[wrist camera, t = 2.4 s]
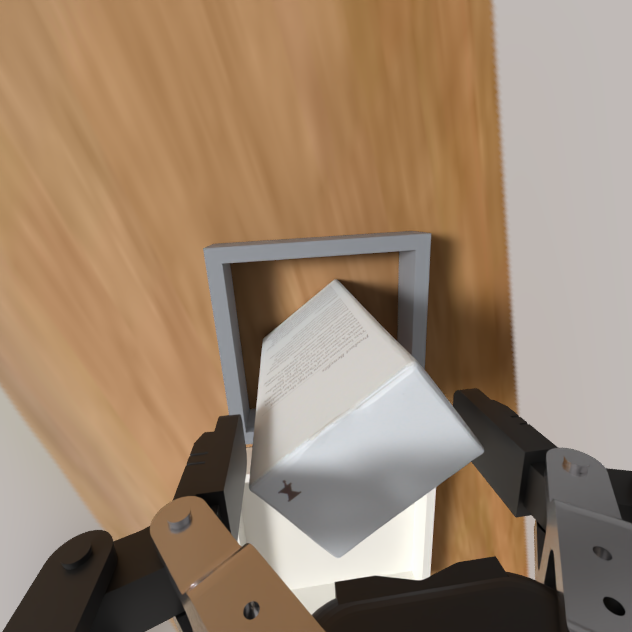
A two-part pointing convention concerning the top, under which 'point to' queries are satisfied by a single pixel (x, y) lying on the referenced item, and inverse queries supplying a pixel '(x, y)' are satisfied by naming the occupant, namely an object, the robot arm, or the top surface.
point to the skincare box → (348, 424)
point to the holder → (221, 255)
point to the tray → (323, 568)
